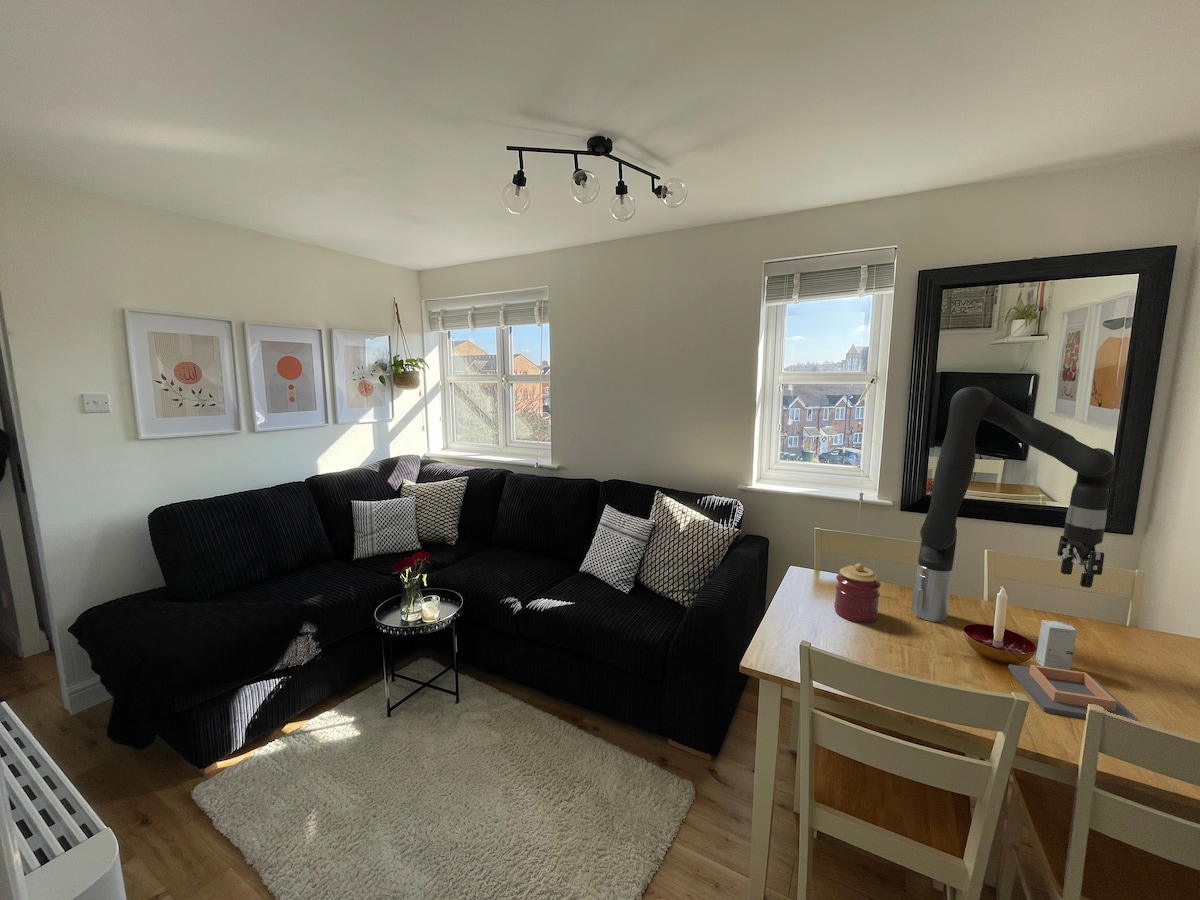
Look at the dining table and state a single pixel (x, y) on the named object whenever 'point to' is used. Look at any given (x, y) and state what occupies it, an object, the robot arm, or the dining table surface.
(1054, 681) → the collar stand
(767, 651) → the dining table surface
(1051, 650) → the skincare box
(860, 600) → the canister
